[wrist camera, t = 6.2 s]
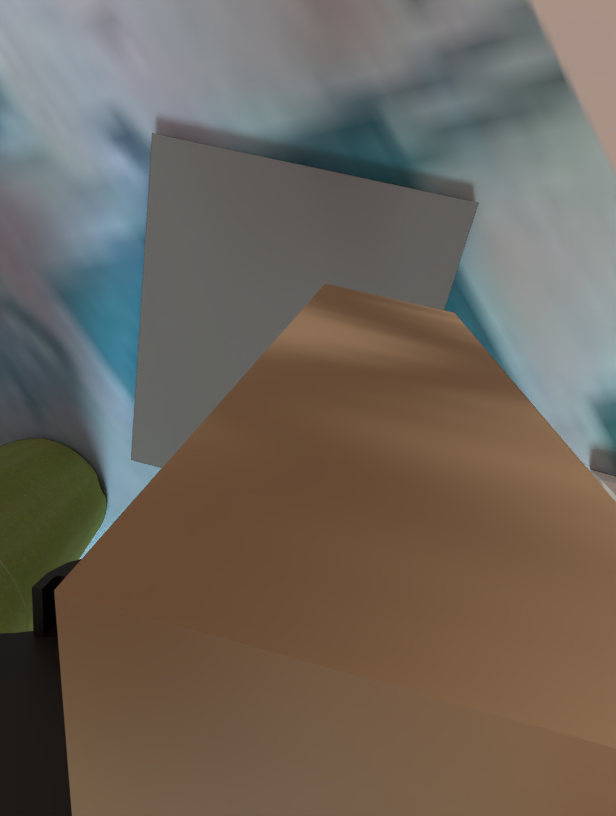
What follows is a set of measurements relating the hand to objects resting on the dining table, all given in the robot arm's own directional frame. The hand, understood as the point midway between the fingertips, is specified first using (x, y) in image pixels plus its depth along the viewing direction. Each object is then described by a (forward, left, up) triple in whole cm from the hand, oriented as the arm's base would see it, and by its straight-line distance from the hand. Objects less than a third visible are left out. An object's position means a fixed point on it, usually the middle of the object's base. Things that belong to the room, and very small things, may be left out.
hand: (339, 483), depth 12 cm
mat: (+1, +4, -10) cm, 11 cm away
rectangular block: (0, 0, 0) cm, 0 cm away
